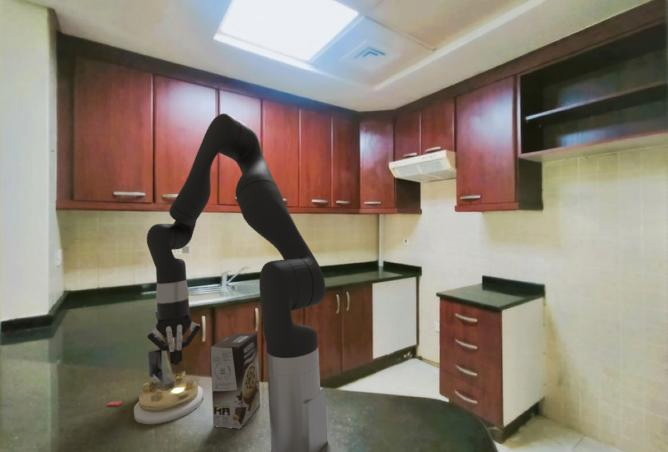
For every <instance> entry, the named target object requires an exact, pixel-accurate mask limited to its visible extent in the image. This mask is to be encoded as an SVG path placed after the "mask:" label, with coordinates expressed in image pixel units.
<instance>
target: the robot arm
mask: <svg viewBox="0 0 668 452" xmlns="http://www.w3.org/2000/svg"><path fill="white" fill-rule="evenodd" d="M205 131H206V132H205V134H204V136H203V139H202V141H201V143H200V144H199V145H200V147H199V148H198V150H197V152H196V155H195V157H194V159H193V164H192V166H191V169H190V171H189V173H188V176H187V178H186V180H185V182H184V184H183V186H182V188H181V189H180V191H179V193H178V194H177V196H176V197H175V199H174V201H173V202H172V204H171V206H170V207H169V211H168V213H169V215H170V217H171V218H172V219H173V220H174V222H173V223H155V224H154V225H152V226H151V227H150V228H149V229H148V231H147V235H146V245H147V248H148V251H149V253H150V256H151V258H152V262H153V263H154V266H155V273H156V276H155V278H156V290H155V292H156V295H155V296H156V297H155V300H156V311H157V323H156V325H155V328H154V329H153V330H152V331H149V332H148V334H147V339H148V340H149V341H151V342H152V343H153V344H154V345H155V346H156V347H157V348H160V349H161V350H162V352H169V356H170V357H169V359H170V362H169V363H170V364H171V365H173V366H179V365H180V364H181V363H182V362H183V359H184V358H183V349H184V348H186V347H188V346H190V345H191V342H192V341H193V339H195V337H196V335H197V334H198V333H199V330H200V329H201V324H200V323H196V322H194V321H193V319H192V317H191V315H190V301H189V300H190V299H189V295H190V294H189V287H188V282H187V281H188V280H187V271H186V270H187V269H186V265H187V264H186V261H184V259H182V258H178V257H177V258H176V257H175V255H174V253H173V250H174V251H175V250H181V249H183V248H184V247H186V246H187V245H188V244H189V243H190V242H191V240H192V238H193V235H194V231H195V228H196V224H197V220H198V219H199V217H200V215H201V214H202V213H203V211H204V209H206V206H207V205H208V203H209V201H210V197H211V191H212V189H211V184H212V183H211V170H212V166H213V163H214V160H215V158H216V157H217V156H218V155H219V154H221V155H222V156H226V157H227V158H230V159H232V160H233V161H234V162H236V164H237V166H238V168H239V169H240V171H241V176H240V177H239V179H238V181H237V184H236V186H235V187H236V188H235V197H236V201H237V204H238V206H239V209H240V211H241V215H242V216H243V219H244V221H245V222H246V223H247V224H248V226H250V228H251V229H252V230H254V231H255V232H256V233H257V234H259V236H261V237H262V238H264V239H265V240H266V241H268V242H269V244H271V245H272V246H274V248H275V249H277V251H278V252H279V254H280V255H281V256H282V258H283V259H277V260H271V261H267V262H266V263H265V264H264V265H262V268H261V270H260V274H259V285H258V286H259V296H260V297H259V299H260V305H261V306H260V307H261V317H262V318H261V319H262V327H263V329H262V330H263V334H264V335H263V336H264V339H265V344H266V365H267V368H266V369H267V383H268V384H267V391H268V407H269V408H268V409H269V411H268V413H269V430H270V449H271V452H320V451H321V450H322V449H323V447H324V446H325V445H326V443H327V442H328V439H329V438H328V423H327V407H326V405H327V403H326V389H325V387H322V386H321V379H320V378H321V377H320V375H321V374H320V358H319V357H320V356H319V339H318V338H319V337H318V333H317V330H316V328H313V327H311V326H309V325H305V324H297V323H294V321H293V316H292V311H296V310H300V309H306V308H309V307H313V306H316V305H317V304H320V303H321V302H322V300H323V299H324V296H325V295H326V282H325V278H324V277H325V276H324V274H323V272H322V269H321V266H320V265H319V262H318V261H317V259H316V257H315V256H314V254H313V252H312V251H311V249H310V247H309V245H307V243H306V241H305V239H304V238H303V236H302V235H301V233H300V231H299V229H298V228H297V226H296V223H295V222H294V220H293V218H292V216H291V214H290V211H289V210H288V208H287V204H286V202H285V201H284V199H283V198H284V197H283V195H282V194H281V192H280V190H279V187H278V185H277V183H276V182H275V180H274V177H273V175H272V173H271V171H270V169H269V166H268V165H267V162H266V160H265V156H264V154H263V153H264V152H263V150H262V146H261V144H260V141H259V138H258V136H257V133H256V132H255V131H254V129H252V128H251V127H250V126H249V125H247V124H245V123H243V122H242V121H240V120H238V118H235V117H233V116H232V115H230V114H228V113H220V114H218V115H217V116H215V117H214V119H213V120H212V121H211V122H210V123H209V125H208V127H207V129H206V130H205ZM189 328H190V329H189ZM188 329H189V330H190V332H189V334H188V335H187V337H186V339H185V340H184V341H183V336H184V335H185V334H186V332H187V331H188ZM160 334H161V335H162V336H163V337H164V338H165V339H167V343H166V342H165V341H164V340H163V339H161V337H160ZM175 338H176V343H175Z"/></svg>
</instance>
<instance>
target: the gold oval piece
mask: <svg viewBox="0 0 668 452" xmlns="http://www.w3.org/2000/svg"><path fill="white" fill-rule="evenodd" d="M147 352H148V353H147V355H148V360H147V361H148V376H149V378H153V379H154V380H155V381H156V382H154V381H148V382H145V383H144V384H143V385H142V390H141V392H140V393H139V395H138V402H139V407H140V408H141V409H142V410H144V411H149V412H156V411H164V410H168V409H172V408H175V407H178V406H180V405H182V404H184V403H186V402H188V401H190V400H191V399H192V398H194V397H195V396H196V395H197V393H198V386H199V381H198V379H197V378H196V377H194V376H190V375H186V371H185V370H184V371H178V372H177V373H175V376H173V377H172V376H171V377H170V376H168V375H167V374H166V373H165V372H164V371H163V353H162V352H163V351H162V350H161V349H160V348H159V347H157V348H152V349H150V350H148V351H147Z"/></svg>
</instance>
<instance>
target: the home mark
mask: <svg viewBox="0 0 668 452" xmlns="http://www.w3.org/2000/svg"><path fill="white" fill-rule="evenodd" d="M123 404H124V401H110V402H108V403H107V404H106V405H107V407H120V406H121V405H123Z"/></svg>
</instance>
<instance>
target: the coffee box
mask: <svg viewBox="0 0 668 452" xmlns="http://www.w3.org/2000/svg"><path fill="white" fill-rule="evenodd" d="M258 348H259V347H258V333H257V332H253V333H252V332H249V333H248V332H244V333H243V332H242V333H231V334H230V335H228V336H227V337H224V338H223V339H222V340H219V341H218V342H216V343H215V344H213V345H212V346H210V362H211V363H210V364H211V365H210V366H211V371H210V372H211V390H212V391H211V394H212V396H211V397H212V427H214V428H216V427H215V426H218V427H217V428H221V427H232V428H241V429H242V428H243V427H244V426H245V424H246V423H247V422H248V421H249V419H251V417H252V416H253V415H254V413H255V412H256V411H257V409H258V408H259V407H260V406H261V393H260V391H261V390H260V388H261V387H260V372H259V371H260V368H259V349H258ZM243 425H244V426H243ZM242 426H243V427H242ZM232 428H231V429H232Z"/></svg>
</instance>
